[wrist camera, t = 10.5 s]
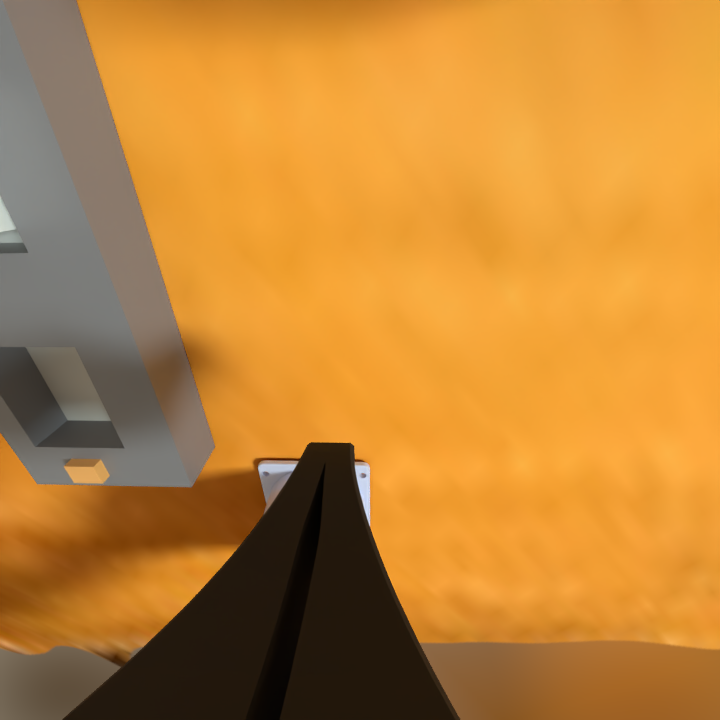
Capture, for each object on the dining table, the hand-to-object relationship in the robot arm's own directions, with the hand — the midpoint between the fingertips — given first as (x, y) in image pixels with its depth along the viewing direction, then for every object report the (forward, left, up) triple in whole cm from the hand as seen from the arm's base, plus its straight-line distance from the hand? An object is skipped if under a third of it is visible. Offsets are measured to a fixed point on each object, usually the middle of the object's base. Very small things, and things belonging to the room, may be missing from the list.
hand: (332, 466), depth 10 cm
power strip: (+3, +15, -10) cm, 18 cm away
